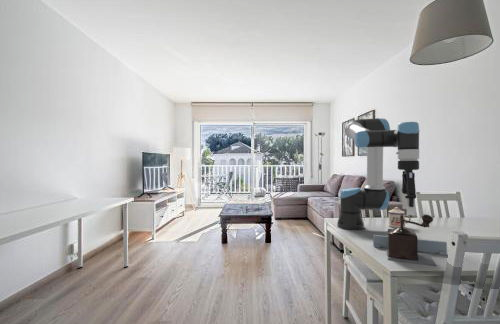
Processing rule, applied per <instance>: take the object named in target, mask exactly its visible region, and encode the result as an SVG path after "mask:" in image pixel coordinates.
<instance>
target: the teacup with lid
mask: <svg viewBox="0 0 500 324" xmlns="http://www.w3.org/2000/svg"><path fill="white" fill-rule="evenodd" d="M400 215H403V216H404V217H403V218H404V220H406V217H408V221H411V220H412V219H411V215H407V214H406V211H403V210H401V209H400V208H399V207H398V206H397V207H396V206H395V207H394V208H393V209H390V210H388V227H389V228H392V229H395V228H399V227H400V226H401V220H400V218H401V217H400ZM406 224H408V223H407V222H405V221H403V227H404V228H406Z"/></svg>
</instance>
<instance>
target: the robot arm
mask: <svg viewBox="0 0 500 324" xmlns="http://www.w3.org/2000/svg"><path fill="white" fill-rule="evenodd" d="M344 133H345V135H346V137H348V139H350V140H354V146H355V147H356V148H366V185H365V186H364V187H363V190H362V189H361V187H349V188H343V189H341V190H340V193H339V200H340V201H339V202H340V203H339V205H340V206H339V208H340V209H339V212H340V213H339V216H338V219H337V225H336V226H337V227H338V228H340V229H344V230H355V231H356V230H363V229H364V228H365V223H364V220H363V217H362V213H361V211H365V210H366V211H383V210H384V211H385V210H386V209H387V208H388V207H389V203H390V193H389V191H388V190H387V189H386V187H385V186H384V182H383V181H384V178H383V177H384V148H397V152H396V153H395V154H396V155H397V159H398V161H397V169H398V170H400V171H402V174H401V176H402V179H401V180H402V184H401V193H402V198H401V200H402V201H401V202H402V210H406V215H408V216H414V217H415V216H416V198H417V193H416V181H415V180H416V179H415V177H416V176H415V172H413V171H418V170H419V169H420V161H419V159H420V125H419V123H418V122H417V121H403V122H399V123H398V124H397V129H391V126H390V123H389V120H387V119H386V118H379V117H378V118H377V117H376V118H357V119H353V120H352V121H350V122H348V123H347V124H346V125H345V128H344Z"/></svg>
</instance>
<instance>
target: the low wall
mask: <svg viewBox="0 0 500 324" xmlns="http://www.w3.org/2000/svg"><path fill="white" fill-rule="evenodd" d="M372 239H373V240H372V243H373V244H372V245H373V248H379V249H380V248H387V249H388V235H380V234H379V235H378V234H373V237H372ZM417 245H418V252H420V253H429V254H431V253H433V254H439V255H440V256H447V255H448V254H447V253H448V249H447V247H448V245H447V241H443V240H442V241H441V240H431V239H430V240H429V239H420V238H417Z"/></svg>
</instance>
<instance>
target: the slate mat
mask: <svg viewBox="0 0 500 324" xmlns="http://www.w3.org/2000/svg"><path fill="white" fill-rule="evenodd" d="M385 250H386V251H385V252H386V257H387V260H388V261H394V262H395V261H396V262H404V263H410V264H411V263H413V264H420V265H428V266H434V267H435V266H437V264H436V262H435V261H434V258H432V255H430V254H431V253H426V252H418V260H410V259H400V258H393V257H389V256H388V248H387V249H385Z"/></svg>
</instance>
